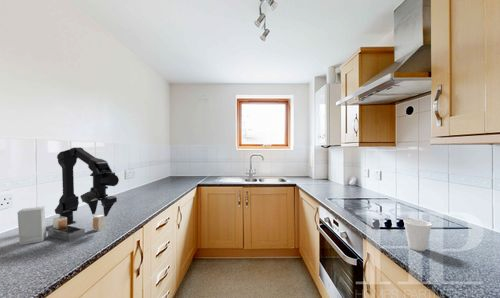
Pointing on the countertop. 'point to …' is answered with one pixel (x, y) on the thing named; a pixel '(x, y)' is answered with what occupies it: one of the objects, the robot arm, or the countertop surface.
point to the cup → (417, 233)
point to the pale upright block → (99, 222)
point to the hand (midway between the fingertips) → (99, 215)
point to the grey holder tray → (65, 230)
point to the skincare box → (31, 225)
